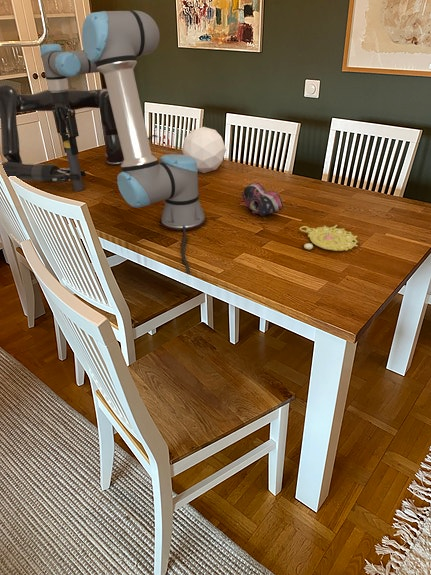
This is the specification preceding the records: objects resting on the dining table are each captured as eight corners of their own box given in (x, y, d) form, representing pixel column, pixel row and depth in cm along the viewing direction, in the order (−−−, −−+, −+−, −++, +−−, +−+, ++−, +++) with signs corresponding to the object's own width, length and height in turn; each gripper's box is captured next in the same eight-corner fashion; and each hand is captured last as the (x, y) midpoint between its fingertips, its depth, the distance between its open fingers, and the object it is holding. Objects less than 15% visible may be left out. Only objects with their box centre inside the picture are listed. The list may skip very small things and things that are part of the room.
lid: (66, 148, 175) (65, 143, 174) (62, 146, 178) (61, 141, 177) (78, 146, 177) (77, 141, 176) (74, 144, 181) (73, 139, 179)
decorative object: (343, 255, 128) (285, 234, 139) (342, 262, 130) (284, 241, 140) (372, 230, 142) (317, 213, 152) (371, 237, 143) (316, 219, 153)
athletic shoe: (254, 181, 170) (227, 189, 167) (283, 176, 151) (253, 185, 147) (260, 210, 173) (234, 218, 170) (290, 209, 154) (261, 219, 150)
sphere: (210, 188, 203) (207, 161, 184) (176, 167, 208) (170, 139, 189) (234, 159, 208) (234, 131, 189) (200, 139, 213) (197, 110, 194)
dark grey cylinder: (71, 190, 187) (62, 145, 177) (78, 187, 190) (69, 142, 180) (79, 191, 185) (69, 146, 175) (86, 188, 188) (77, 143, 178)
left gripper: (33, 169, 179) (71, 171, 176) (52, 159, 191) (88, 161, 187) (38, 187, 183) (75, 190, 180) (56, 176, 195) (91, 178, 191)
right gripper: (80, 91, 164) (91, 154, 176) (56, 87, 174) (68, 147, 187) (62, 94, 159) (75, 159, 172) (38, 90, 170) (52, 151, 182)
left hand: (82, 175), depth 184 cm, fingers closed on dark grey cylinder, 4 cm apart
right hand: (71, 152), depth 179 cm, fingers closed on lid, 5 cm apart
